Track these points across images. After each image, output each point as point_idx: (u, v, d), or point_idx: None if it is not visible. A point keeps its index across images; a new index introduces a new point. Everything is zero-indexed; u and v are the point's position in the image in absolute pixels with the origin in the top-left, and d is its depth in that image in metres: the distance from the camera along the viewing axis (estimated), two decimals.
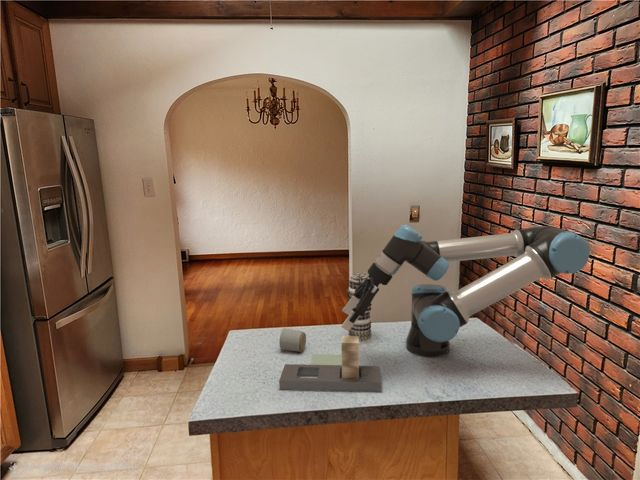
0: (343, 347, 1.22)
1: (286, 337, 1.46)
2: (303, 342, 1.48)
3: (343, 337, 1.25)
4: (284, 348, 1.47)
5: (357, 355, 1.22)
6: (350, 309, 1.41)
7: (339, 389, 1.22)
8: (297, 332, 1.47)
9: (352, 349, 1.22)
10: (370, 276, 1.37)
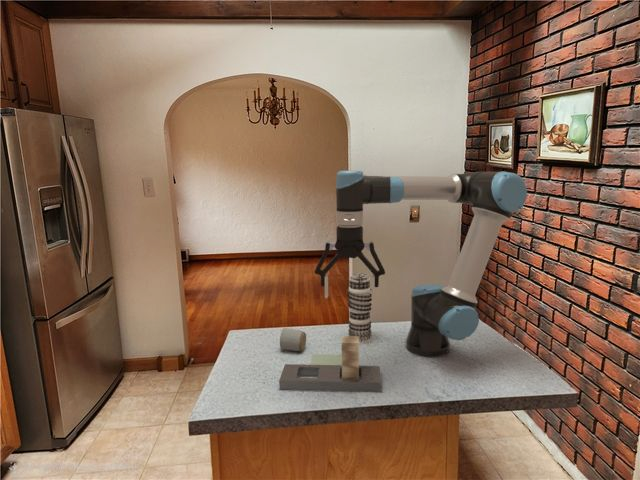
0: (343, 347, 1.22)
1: (286, 337, 1.46)
2: (303, 342, 1.48)
3: (343, 337, 1.25)
4: (284, 348, 1.47)
5: (357, 355, 1.22)
6: None
7: (339, 389, 1.22)
8: (297, 332, 1.47)
9: (352, 349, 1.22)
10: (329, 245, 1.19)
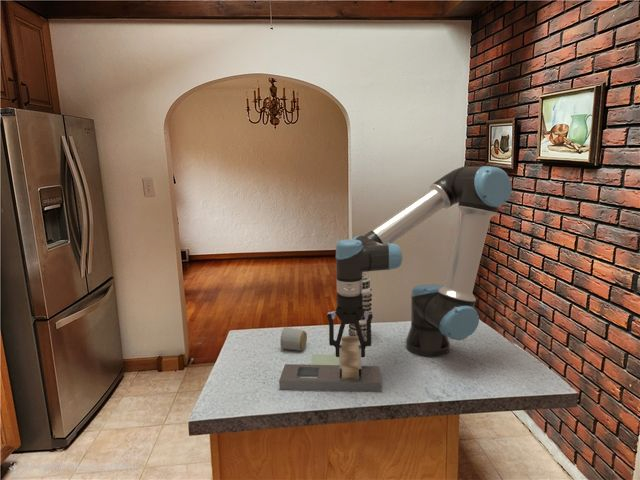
0: (343, 347, 1.22)
1: (287, 336, 1.47)
2: (304, 341, 1.49)
3: (343, 337, 1.25)
4: (285, 347, 1.48)
5: (357, 355, 1.22)
6: None
7: (339, 389, 1.22)
8: (298, 331, 1.48)
9: (352, 349, 1.22)
10: (331, 315, 1.22)
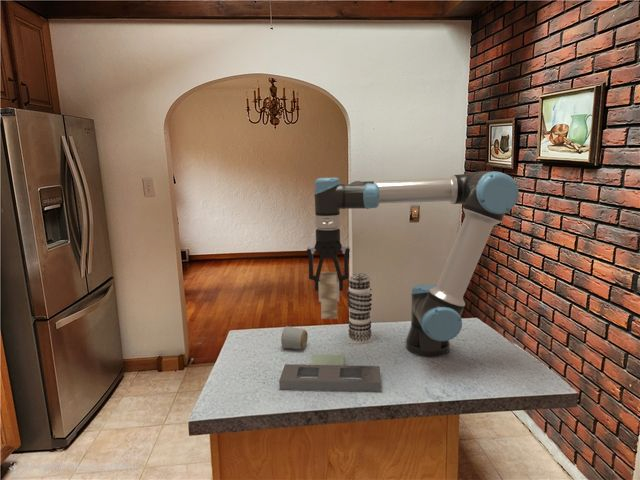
0: (322, 280, 1.29)
1: (288, 335, 1.48)
2: (304, 340, 1.49)
3: (322, 272, 1.32)
4: (286, 346, 1.49)
5: (335, 287, 1.29)
6: None
7: (339, 389, 1.22)
8: (299, 330, 1.49)
9: (330, 282, 1.29)
10: (310, 250, 1.29)
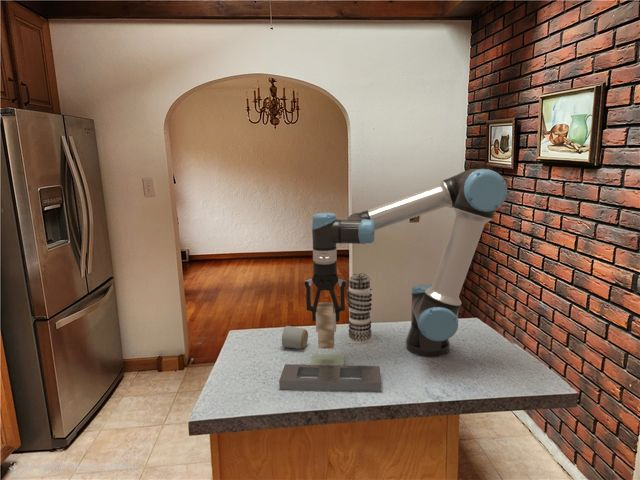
0: (319, 311, 1.33)
1: (288, 334, 1.48)
2: (305, 340, 1.50)
3: (319, 303, 1.37)
4: (286, 345, 1.49)
5: (332, 319, 1.33)
6: None
7: (339, 389, 1.22)
8: (299, 329, 1.49)
9: (327, 313, 1.33)
10: (308, 282, 1.33)
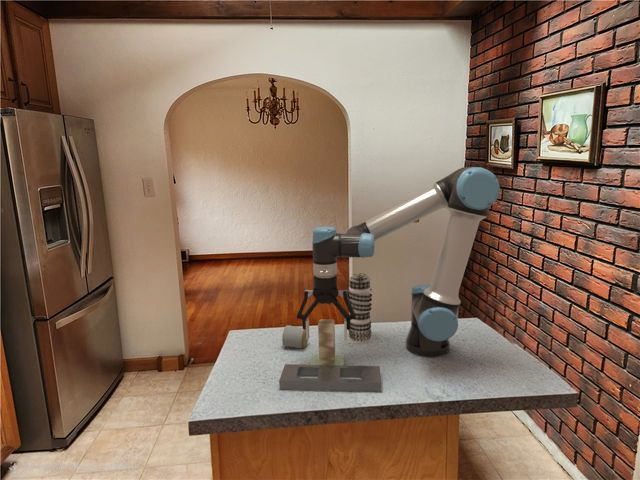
0: (319, 329, 1.34)
1: (289, 334, 1.49)
2: (305, 339, 1.50)
3: (320, 320, 1.38)
4: (287, 345, 1.50)
5: (332, 336, 1.34)
6: None
7: (339, 389, 1.22)
8: (299, 329, 1.50)
9: (328, 331, 1.34)
10: (307, 293, 1.34)
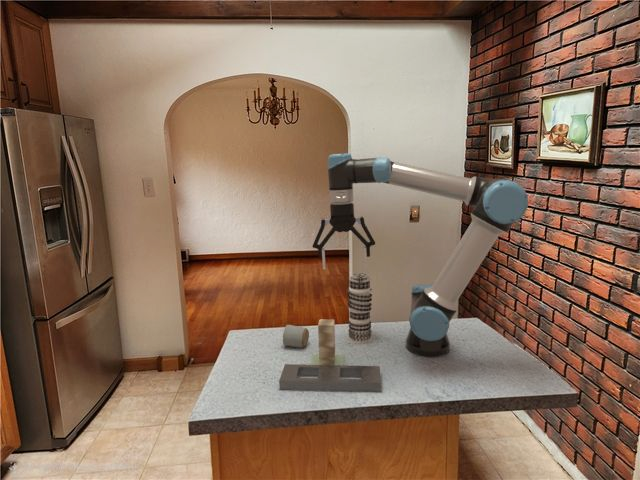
0: (319, 329, 1.34)
1: (289, 333, 1.49)
2: (306, 339, 1.51)
3: (320, 320, 1.38)
4: (287, 344, 1.50)
5: (332, 336, 1.34)
6: None
7: (339, 389, 1.22)
8: (300, 328, 1.50)
9: (328, 331, 1.34)
10: (324, 221, 1.33)
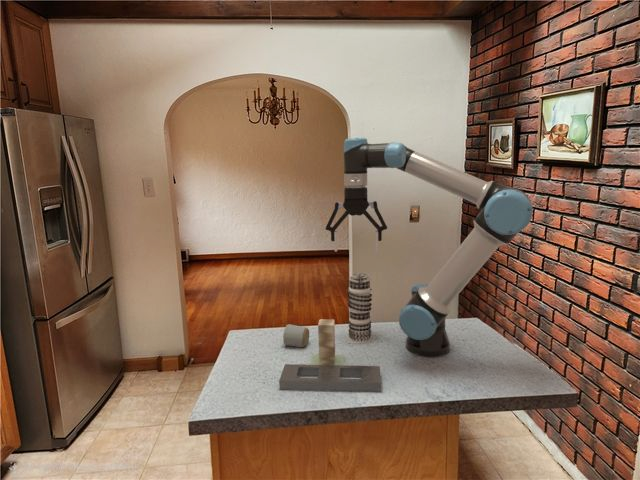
0: (319, 329, 1.34)
1: (290, 333, 1.50)
2: (306, 338, 1.51)
3: (320, 320, 1.38)
4: (288, 343, 1.51)
5: (332, 336, 1.34)
6: None
7: (339, 389, 1.22)
8: (300, 328, 1.51)
9: (328, 331, 1.34)
10: (338, 204, 1.36)
